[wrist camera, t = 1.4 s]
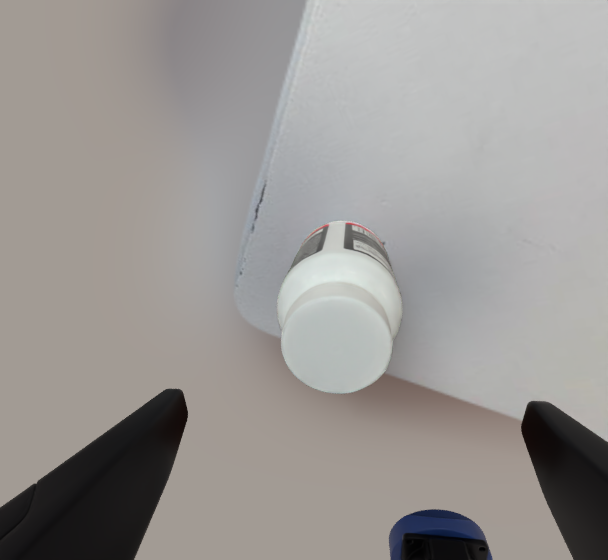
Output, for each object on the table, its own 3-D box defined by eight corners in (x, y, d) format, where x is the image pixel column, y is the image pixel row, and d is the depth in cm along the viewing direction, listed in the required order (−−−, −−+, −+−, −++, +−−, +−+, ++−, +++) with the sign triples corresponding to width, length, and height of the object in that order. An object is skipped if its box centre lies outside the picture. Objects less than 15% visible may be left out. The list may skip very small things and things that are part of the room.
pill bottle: (308, 309, 23) (279, 416, 14) (289, 228, 21) (241, 289, 12) (393, 296, 22) (423, 403, 13) (380, 210, 20) (404, 262, 11)
